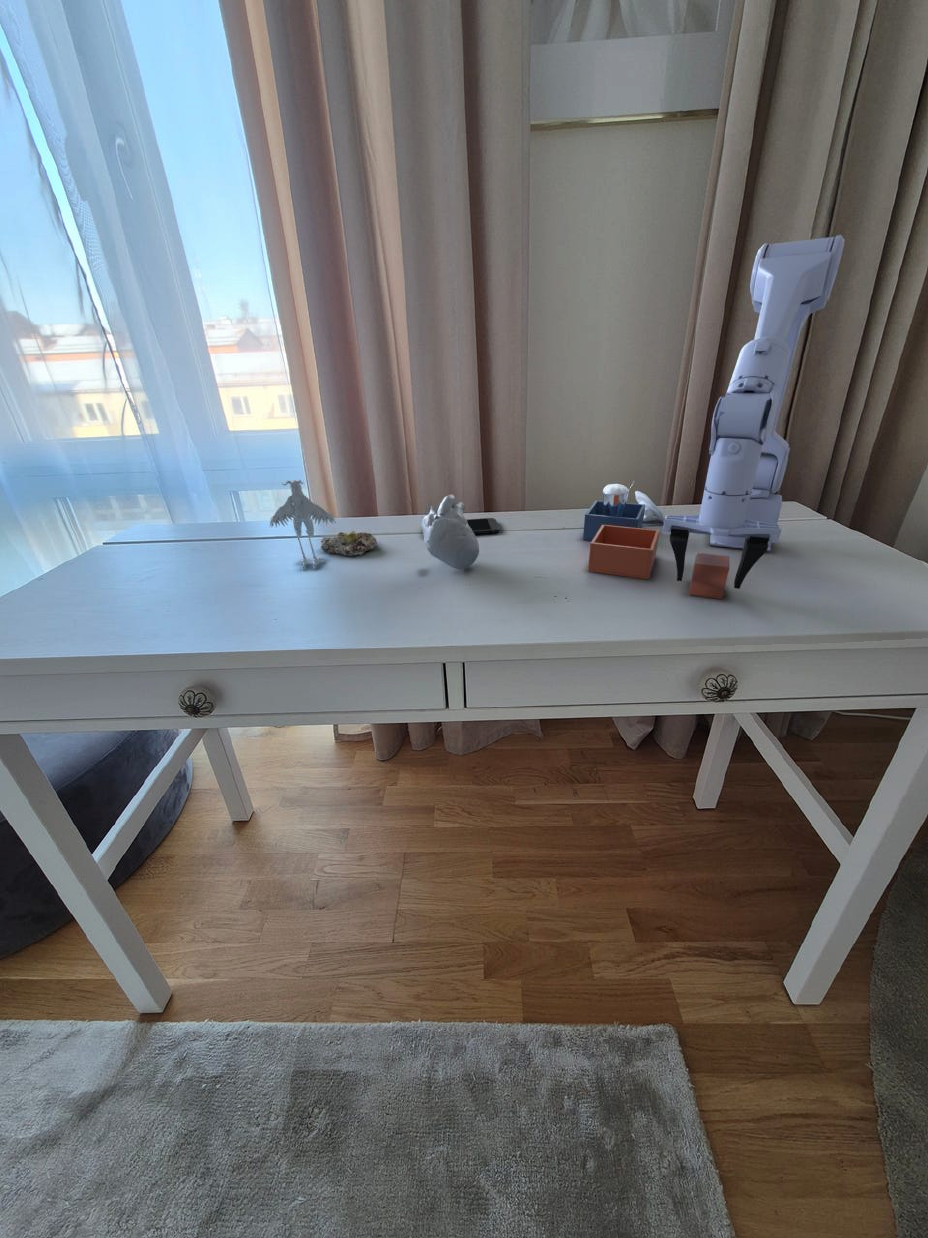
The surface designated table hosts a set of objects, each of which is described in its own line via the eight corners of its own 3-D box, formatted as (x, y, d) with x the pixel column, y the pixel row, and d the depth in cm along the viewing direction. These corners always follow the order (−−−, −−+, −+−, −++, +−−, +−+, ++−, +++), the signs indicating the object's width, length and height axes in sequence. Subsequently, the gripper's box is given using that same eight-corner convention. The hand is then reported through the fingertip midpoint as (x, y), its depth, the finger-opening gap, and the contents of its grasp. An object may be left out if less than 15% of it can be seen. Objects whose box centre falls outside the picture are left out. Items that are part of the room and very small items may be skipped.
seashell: (636, 537, 105) (620, 502, 106) (660, 526, 105) (644, 492, 106) (643, 528, 98) (626, 491, 98) (670, 517, 97) (652, 480, 98)
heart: (408, 571, 84) (414, 502, 78) (429, 550, 92) (436, 486, 86) (465, 586, 82) (476, 518, 76) (482, 564, 90) (492, 499, 84)
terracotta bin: (655, 557, 86) (659, 530, 84) (648, 579, 79) (653, 550, 77) (599, 550, 90) (602, 524, 88) (587, 571, 83) (590, 543, 80)
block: (722, 586, 76) (729, 555, 73) (721, 599, 72) (729, 567, 70) (690, 582, 77) (696, 552, 75) (688, 594, 74) (695, 563, 71)
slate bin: (642, 528, 99) (645, 504, 96) (635, 545, 91) (638, 519, 89) (593, 523, 102) (595, 500, 100) (582, 539, 95) (584, 514, 93)
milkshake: (629, 536, 94) (635, 483, 89) (599, 535, 95) (604, 482, 90) (627, 528, 98) (633, 476, 93) (598, 527, 99) (603, 476, 94)
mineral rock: (380, 527, 98) (371, 530, 91) (382, 550, 99) (373, 554, 92) (326, 531, 99) (312, 534, 91) (329, 553, 100) (316, 558, 92)
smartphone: (500, 532, 100) (500, 528, 99) (425, 538, 99) (424, 533, 98) (495, 521, 106) (495, 517, 106) (424, 526, 105) (423, 521, 105)
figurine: (344, 558, 92) (330, 475, 84) (341, 567, 88) (326, 481, 81) (281, 562, 91) (261, 479, 84) (275, 571, 87) (255, 485, 80)
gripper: (667, 493, 67) (652, 585, 74) (793, 502, 62) (765, 601, 68) (672, 480, 73) (657, 567, 79) (788, 488, 67) (762, 580, 74)
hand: (707, 582), depth 74 cm, fingers open, 7 cm apart
